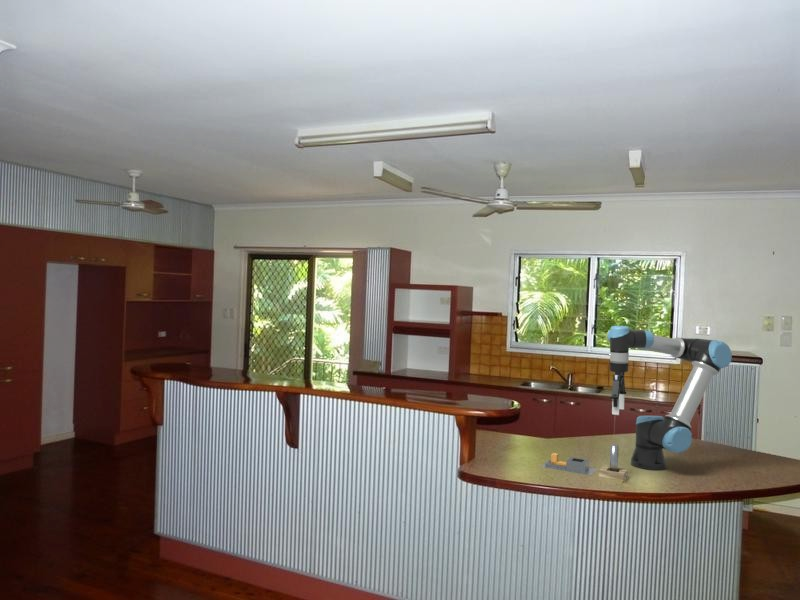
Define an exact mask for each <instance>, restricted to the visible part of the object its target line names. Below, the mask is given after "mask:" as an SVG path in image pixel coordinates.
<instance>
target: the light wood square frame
mask: <svg viewBox="0 0 800 600" xmlns="http://www.w3.org/2000/svg"><path fill="white" fill-rule="evenodd" d="M628 474H629V469H628V468H623V467H618V471H617V472H614V471H610V465H602V467H600V469H598V477H601V478H607V479H613V480H620V481H622V482H621V483H622V484H625V482H626V480H627V479H628Z"/></svg>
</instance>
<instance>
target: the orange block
mask: <svg viewBox="0 0 800 600" xmlns="http://www.w3.org/2000/svg"><path fill="white" fill-rule="evenodd" d="M550 456H551V457H550V460H551V464H558V465H564V466H566V461H561V460H559V453H556V452H553V453H551V455H550Z"/></svg>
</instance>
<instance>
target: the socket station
mask: <svg viewBox="0 0 800 600" xmlns="http://www.w3.org/2000/svg"><path fill="white" fill-rule="evenodd" d="M565 462H566V466H564V465H558V464H551V459H550V460H547V461H545V462H544V463H543V464H542V465H540V466H539V468H544V469H548V470H549V469H550V470H554V471H555V470H556V471H561V472H568V473H573V474H574V473H575V474H579V475H586V476H592V475H593V474H594V473H595V472H596V471H597V468H594V467H590V459H588V458H581V457H575V456H570V457H569V458H568V459H566V461H565Z"/></svg>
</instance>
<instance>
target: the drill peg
mask: <svg viewBox="0 0 800 600" xmlns="http://www.w3.org/2000/svg"><path fill="white" fill-rule="evenodd" d="M609 452H610V453H609V466H610V471H614V472H617V471H618V468H619V466H618V465H619V462H618V461H619V445H618V444H614V443H613V444H610V449H609Z"/></svg>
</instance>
